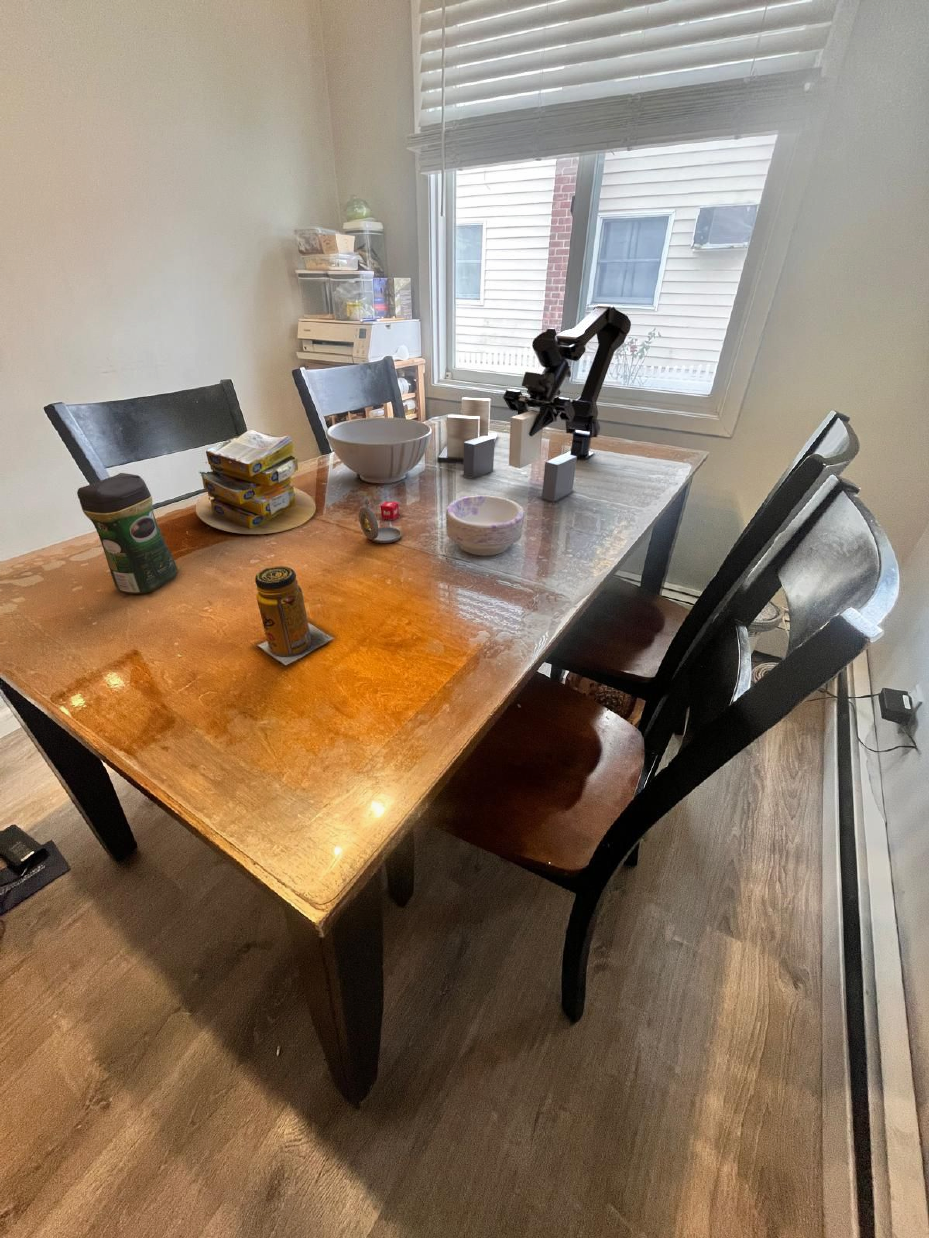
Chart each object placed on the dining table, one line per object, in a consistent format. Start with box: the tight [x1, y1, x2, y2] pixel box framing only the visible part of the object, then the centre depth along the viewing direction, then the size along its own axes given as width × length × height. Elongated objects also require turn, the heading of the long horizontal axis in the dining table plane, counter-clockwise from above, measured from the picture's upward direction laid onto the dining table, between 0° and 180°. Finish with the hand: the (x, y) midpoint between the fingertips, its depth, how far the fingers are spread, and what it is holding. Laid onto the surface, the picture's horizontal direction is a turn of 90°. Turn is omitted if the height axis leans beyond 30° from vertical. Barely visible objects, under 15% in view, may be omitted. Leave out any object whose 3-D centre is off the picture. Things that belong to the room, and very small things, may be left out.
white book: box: [508, 409, 543, 469], centre depth 131 cm, size 9×4×12 cm, turn 138°
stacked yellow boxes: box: [195, 429, 317, 535], centre depth 112 cm, size 25×25×17 cm
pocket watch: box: [358, 494, 402, 544], centre depth 104 cm, size 8×8×10 cm
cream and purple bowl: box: [445, 495, 525, 557], centre depth 102 cm, size 15×15×8 cm
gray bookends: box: [462, 436, 578, 502], centre depth 133 cm, size 9×28×9 cm, turn 51°
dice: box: [379, 500, 400, 521], centre depth 115 cm, size 3×3×3 cm
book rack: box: [437, 397, 498, 464], centre depth 158 cm, size 14×30×12 cm, turn 171°
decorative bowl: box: [325, 416, 433, 484], centre depth 136 cm, size 27×27×12 cm
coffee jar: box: [76, 472, 179, 595], centre depth 85 cm, size 10×8×19 cm
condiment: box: [254, 565, 335, 666], centre depth 73 cm, size 7×8×12 cm
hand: (523, 434), depth 130 cm, fingers closed on white book, 4 cm apart
